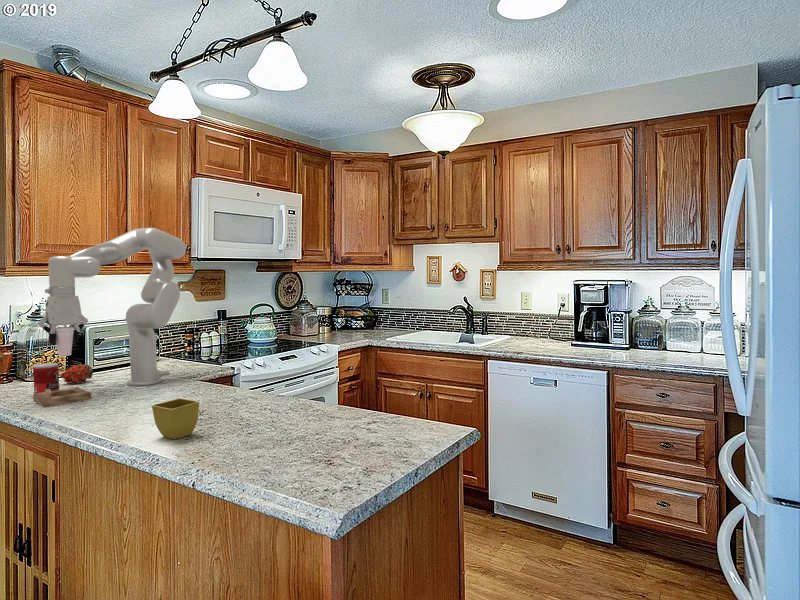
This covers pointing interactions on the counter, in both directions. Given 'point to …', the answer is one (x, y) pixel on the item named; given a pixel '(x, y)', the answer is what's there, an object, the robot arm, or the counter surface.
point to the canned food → (45, 377)
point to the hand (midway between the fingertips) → (64, 343)
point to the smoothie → (64, 340)
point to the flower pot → (176, 417)
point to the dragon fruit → (77, 373)
